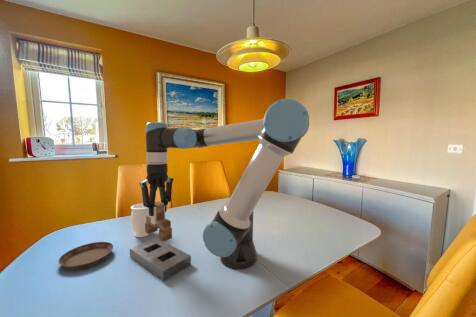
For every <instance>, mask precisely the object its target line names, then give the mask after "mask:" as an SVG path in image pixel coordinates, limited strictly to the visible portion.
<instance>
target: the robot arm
mask: <svg viewBox="0 0 476 317" xmlns="http://www.w3.org/2000/svg"><path fill="white" fill-rule="evenodd" d="M308 111H309V110H307V108H306V107H305V106H304V105H303V104H302V103H301V102H299V101H298V100H295V99H292V98H282V99H279V100H276V101H275V102H273V103H272V104H271V105H270V106H269V107H267V110H266V112H265V114H264V116H263V118H260V119H255V120H250V121H244V122H243V121H242V122H237V123H231V124H225V125H224V124H223V125H219V126H218V125H217V126H212V127H206V128H200V129H193V128H191V127H183V126H182V127H168V125H167V123H166V122H161V121H160V122H158V121H157V122H154V121H151V122H150V121H149V122H147V123H146V125H145V144H146V145H145V151H146V163H147V164H146V178H145V179H144V180H143V181H139V183H138V184H139V186H140V188H141V195H142V203H143V206H145V207H147V208H149V216H151V223H152V224H157V221H156V207H154V205H155V202H156V198H157V197H156V196H157V190H158V192H159V198H160V202H161V203H164V218H165V219H166V212H167V211H168V210H167V206H168V205H169V203H171V202H172V194H173V193H172V192H173V190H172V189H173V182H174V177H170V176H169V175H168V171H169V169H168V163H167V162H168V160H169V159H168V149H182V150H184V149H185V150H187V149H188V150H189V149H193V148H195V149H196V148H197V149H200V148H201V149H202V148H206V147H207V148H208V147H212V146H214V147H215V146H222V145H230V144H236V143H244V142H246V143H247V142H255V141H259V143H258V146H257V148H256V149H255V151H254V153H253V154H252V157H251V158H250V160H249V162H248V163H247V164H248V165H247V166H246V168H245V170H244V171H243V173H242V175H241V177H240V179H239V181H238V182H237V184H236V186H235V188H234V190H233V192H232V194H231V195H230V196H229V199H228V201H227V202H226V203H225V204H223V205H221V206H220V207H219V209H218V210H217V212H216V214H215V216H214V217H213V219H212V221H211V222H210V223H208V224H207V225H206V226H205V228H204V229H203V232H202V239H203V240H202V241H203V243H204V246H205V247H206V249H207V251H208V252H210V253H211V254H212V255H214V256H216V257H218V258H219V260H220V262H221V264H223V265H224V266H226V267H227V268H229V269H237V270H243V268H244V269H247V267H248V268H250V267H252V266H254V265H255V264H256V262H257V260H258V259H257V258H258V253H257V250H256V245H255V243H254V210H255V208H256V207H257V205H258V203H259V201H260V200H261V199H262V196H263V195H264V192H265V191H266V190H267V188H268V186H269V184H270V182H271V180H272V179H273V177H274V176H275V174H276V172H277V170H278V168H279V167H280V164H282V162H283V160H284V158H285V157H286V156H289V155H292V154H294V152H295V149H296V148H297V147H298V145H299V143H300V141H301V140H302V138H303V137H304V136H305V135H306V134H308V131H309V127H310V115H309V112H308ZM148 186H149V187H148ZM254 263H255V264H254ZM253 264H254V265H253ZM251 265H252V266H251Z"/></svg>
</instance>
